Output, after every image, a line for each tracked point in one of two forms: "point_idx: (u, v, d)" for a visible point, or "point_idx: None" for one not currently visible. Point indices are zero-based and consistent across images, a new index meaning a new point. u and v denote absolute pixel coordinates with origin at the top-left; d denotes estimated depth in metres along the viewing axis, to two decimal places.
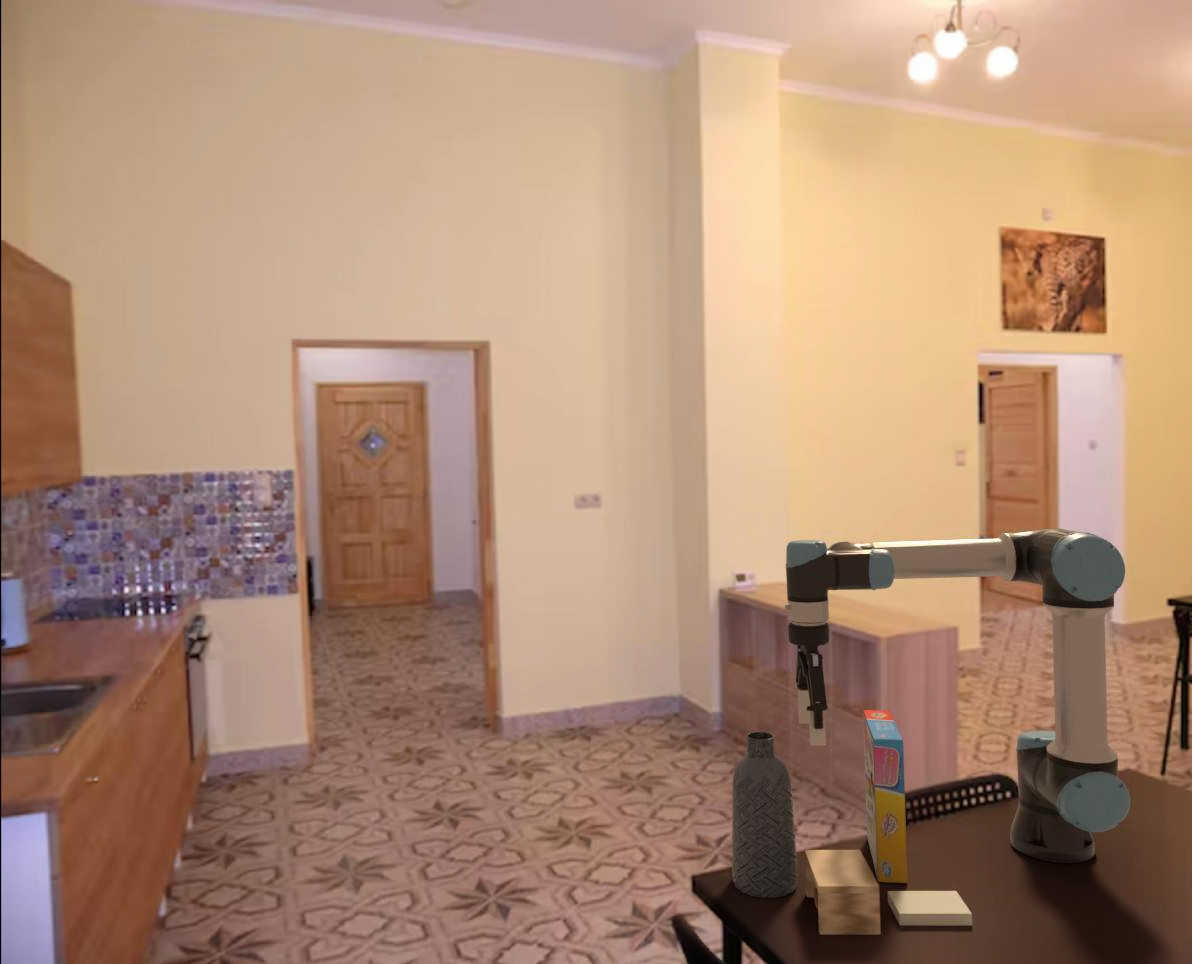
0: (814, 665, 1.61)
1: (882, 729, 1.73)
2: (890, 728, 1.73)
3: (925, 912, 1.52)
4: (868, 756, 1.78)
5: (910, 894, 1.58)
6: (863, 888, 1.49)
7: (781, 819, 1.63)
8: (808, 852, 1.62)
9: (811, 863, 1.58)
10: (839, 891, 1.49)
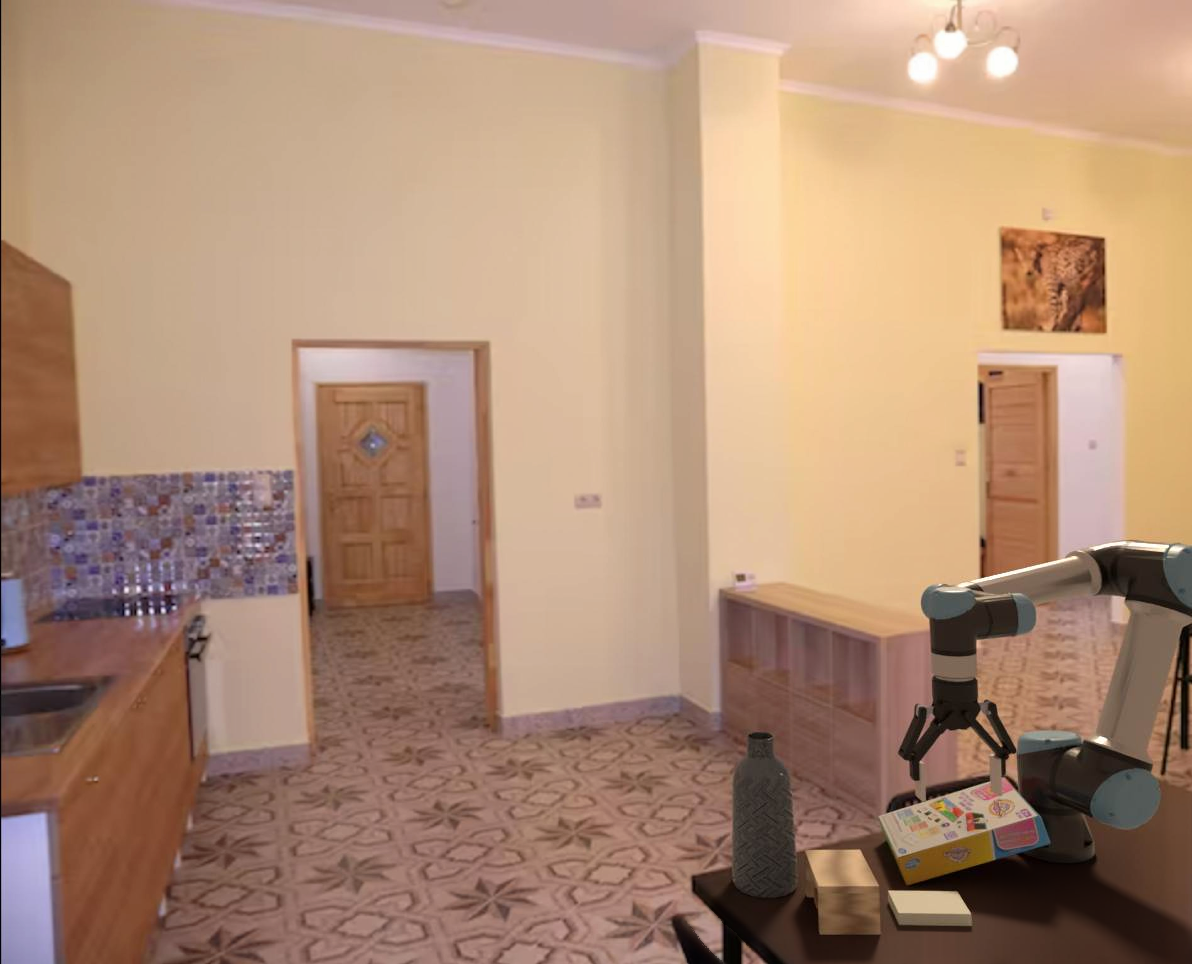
0: (917, 715, 1.56)
1: None
2: None
3: (924, 912, 1.52)
4: (981, 802, 1.75)
5: (910, 894, 1.58)
6: (863, 888, 1.49)
7: (781, 819, 1.63)
8: (808, 852, 1.62)
9: (811, 863, 1.58)
10: (839, 891, 1.49)
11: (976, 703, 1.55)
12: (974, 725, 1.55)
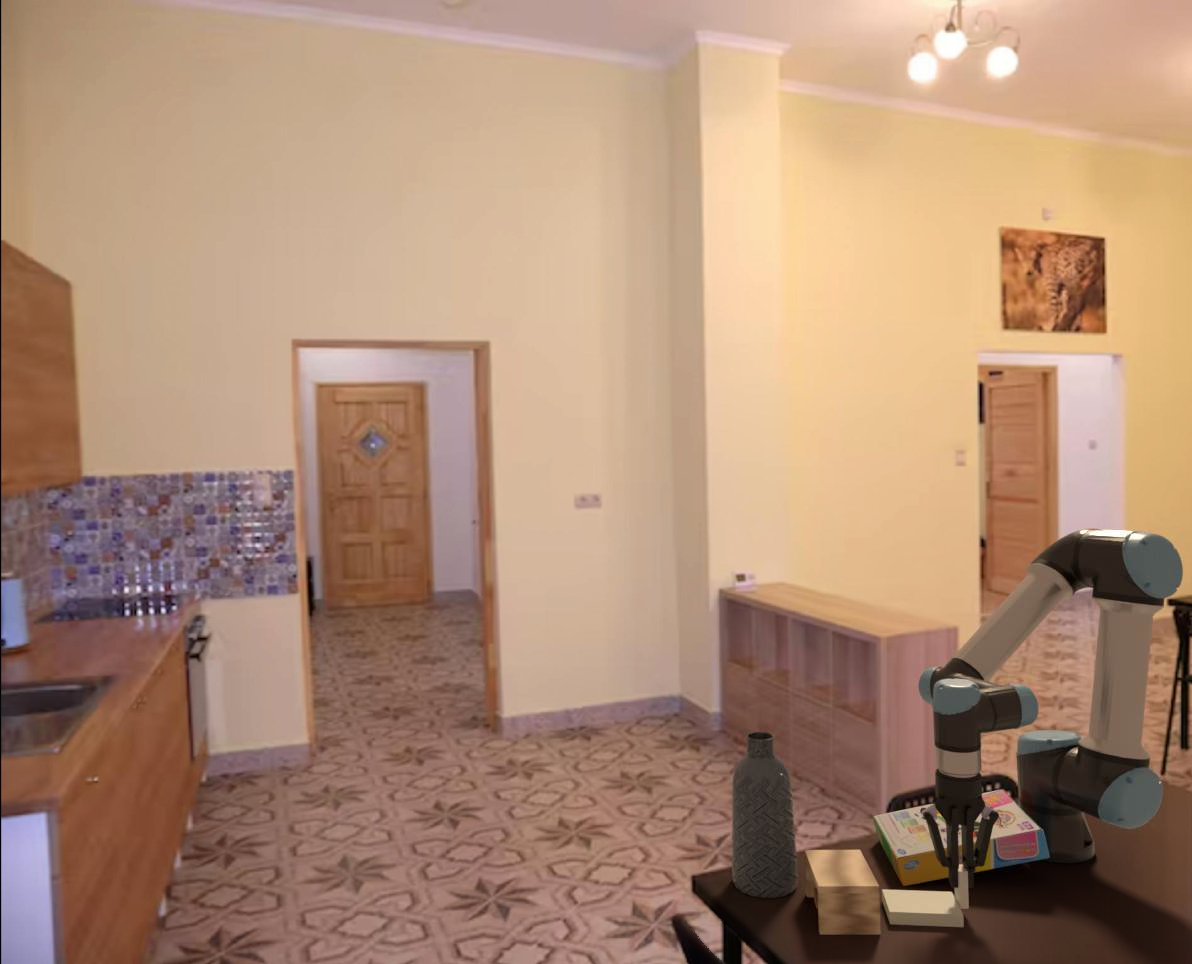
0: None
1: None
2: None
3: (916, 911, 1.52)
4: None
5: (904, 893, 1.58)
6: (863, 888, 1.49)
7: (781, 819, 1.63)
8: (808, 852, 1.62)
9: (811, 863, 1.58)
10: (839, 891, 1.49)
11: None
12: (968, 824, 1.53)
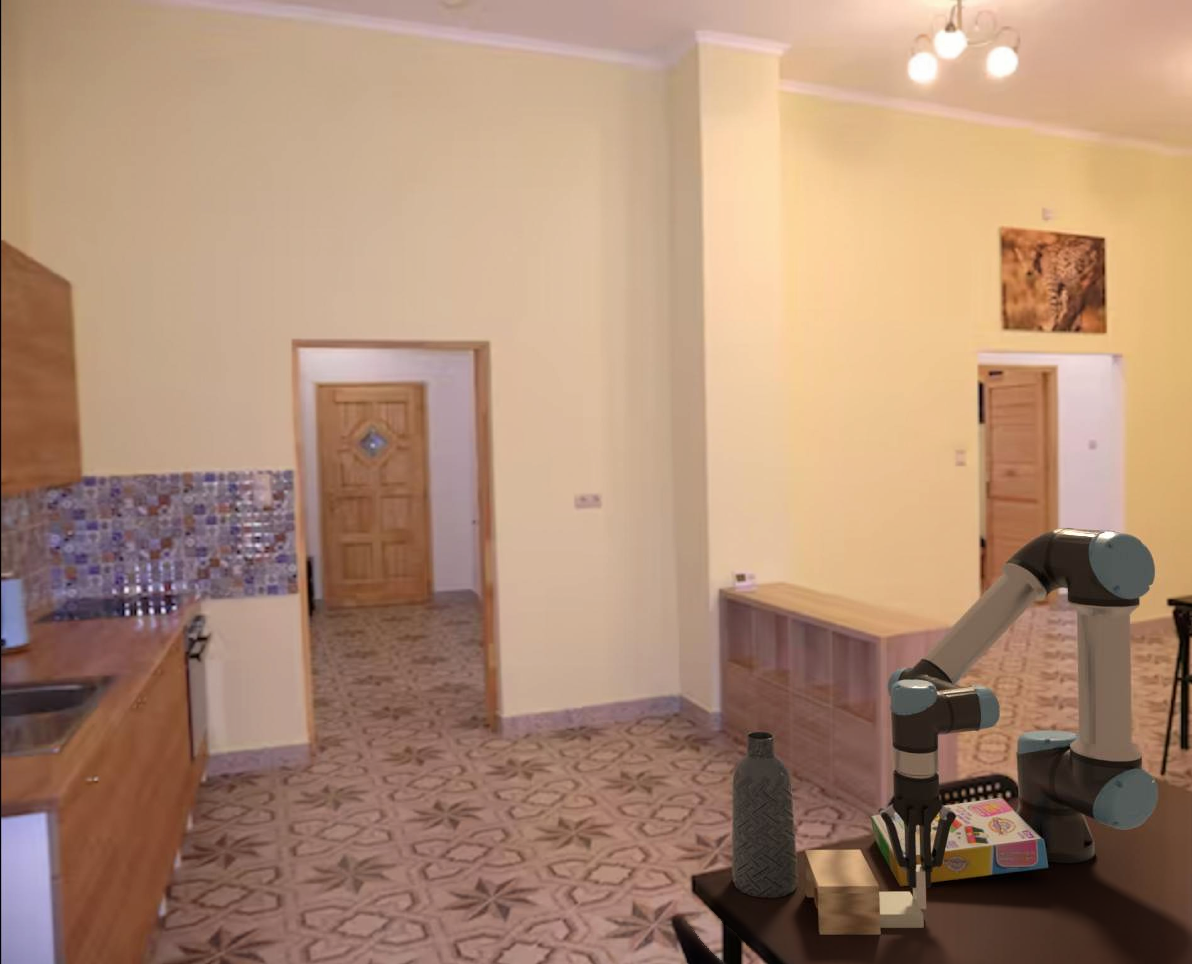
0: None
1: None
2: None
3: None
4: (980, 818, 1.75)
5: None
6: (863, 888, 1.49)
7: (781, 819, 1.63)
8: (808, 852, 1.62)
9: (811, 863, 1.58)
10: (839, 891, 1.49)
11: (941, 802, 1.53)
12: (925, 824, 1.53)
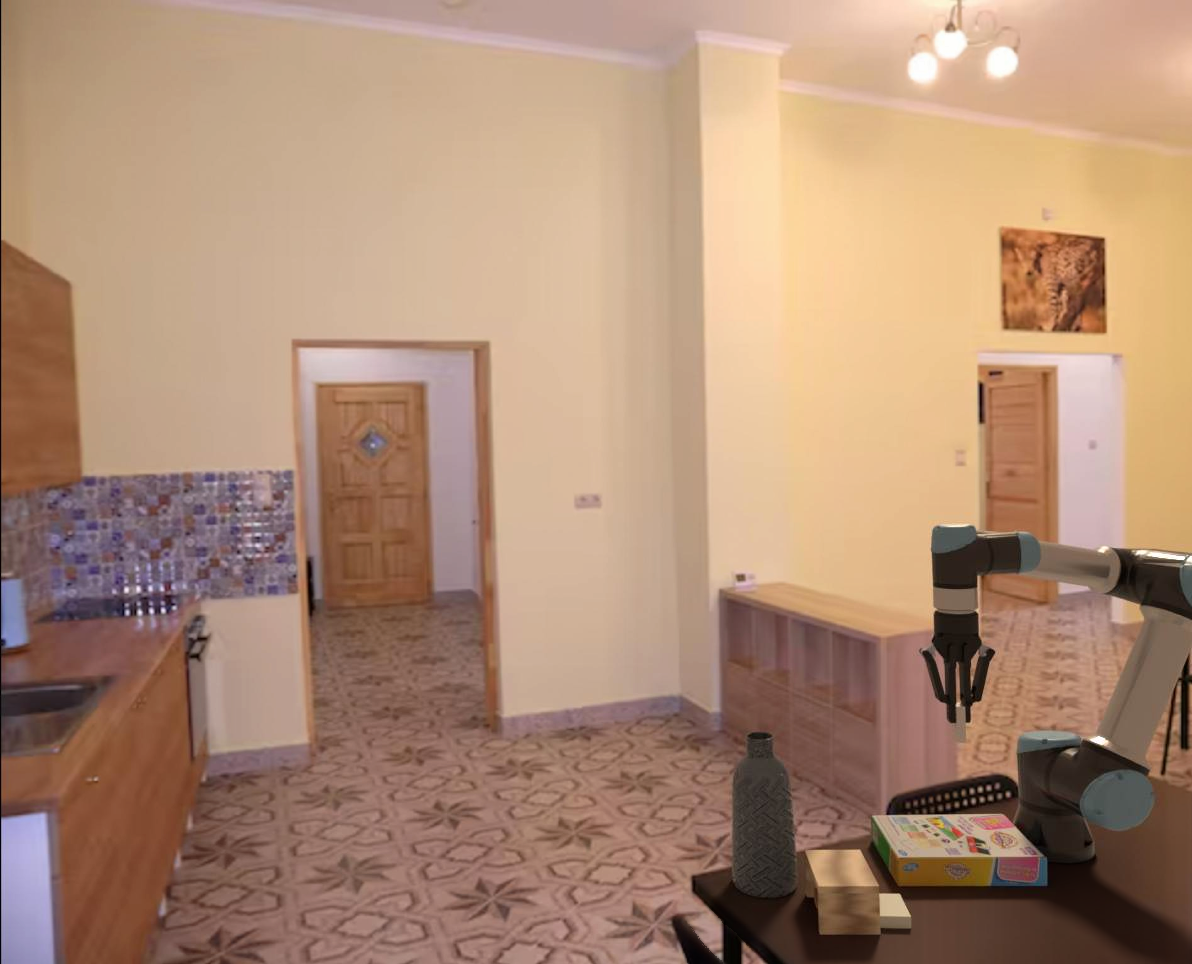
0: (926, 659, 1.60)
1: None
2: None
3: None
4: (982, 830, 1.76)
5: None
6: (863, 888, 1.49)
7: (781, 819, 1.63)
8: (808, 852, 1.62)
9: (811, 863, 1.58)
10: (839, 891, 1.49)
11: (980, 639, 1.58)
12: (965, 660, 1.58)
